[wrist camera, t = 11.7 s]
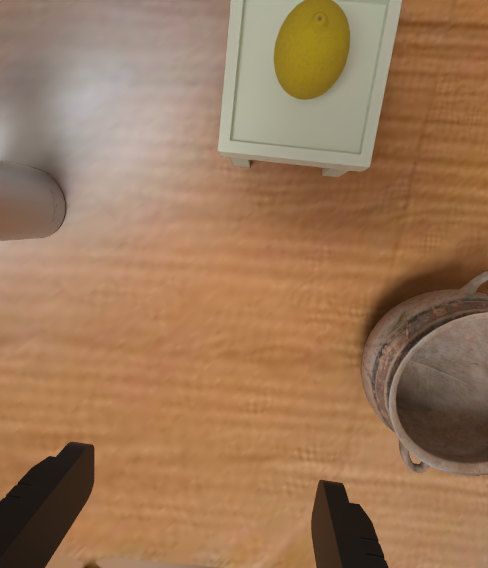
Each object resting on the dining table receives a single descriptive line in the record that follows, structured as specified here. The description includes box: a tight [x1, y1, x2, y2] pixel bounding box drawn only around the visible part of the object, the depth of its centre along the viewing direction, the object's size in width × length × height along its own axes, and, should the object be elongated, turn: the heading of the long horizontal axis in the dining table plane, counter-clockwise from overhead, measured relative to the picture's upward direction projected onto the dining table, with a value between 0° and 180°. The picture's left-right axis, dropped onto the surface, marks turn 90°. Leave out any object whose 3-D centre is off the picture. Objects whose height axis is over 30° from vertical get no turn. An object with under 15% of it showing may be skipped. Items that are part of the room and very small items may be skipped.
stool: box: [218, 0, 402, 177], centre depth 30 cm, size 14×14×10 cm
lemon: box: [274, 0, 350, 100], centre depth 22 cm, size 6×6×8 cm
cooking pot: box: [361, 270, 488, 476], centre depth 34 cm, size 25×19×12 cm
